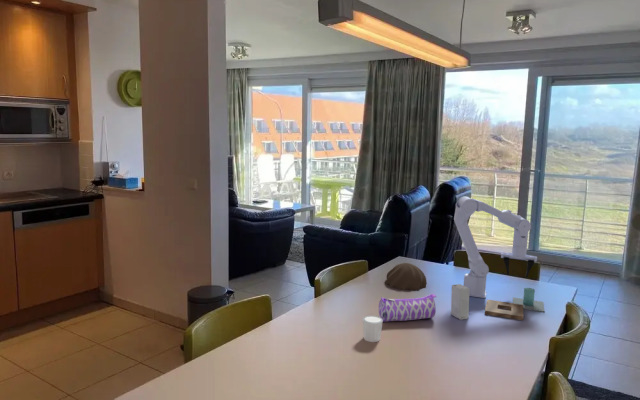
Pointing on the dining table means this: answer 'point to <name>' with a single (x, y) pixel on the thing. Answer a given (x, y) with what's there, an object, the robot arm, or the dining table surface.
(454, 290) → the skincare box
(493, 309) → the holder block
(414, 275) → the decorative dome
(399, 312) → the pencil case
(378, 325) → the white cylinder
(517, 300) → the slate mat
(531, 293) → the peg
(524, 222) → the robot arm
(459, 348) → the dining table surface
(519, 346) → the dining table surface
